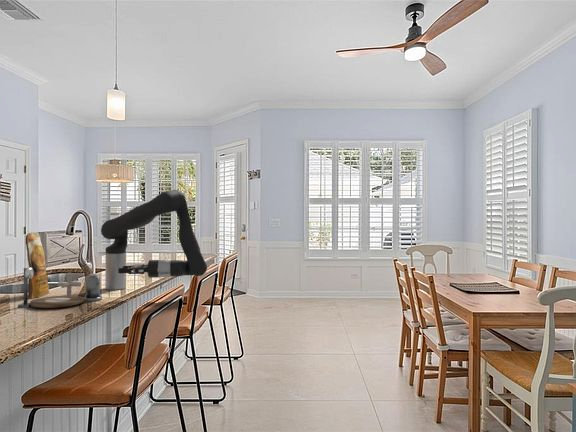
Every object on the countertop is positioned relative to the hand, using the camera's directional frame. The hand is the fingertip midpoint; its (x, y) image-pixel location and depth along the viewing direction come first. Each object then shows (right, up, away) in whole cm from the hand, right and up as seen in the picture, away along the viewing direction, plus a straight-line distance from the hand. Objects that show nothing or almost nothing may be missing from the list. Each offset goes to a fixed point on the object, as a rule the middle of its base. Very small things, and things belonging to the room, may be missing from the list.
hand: (120, 269), depth 191 cm
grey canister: (-11, -13, -2) cm, 17 cm away
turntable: (-21, -13, -12) cm, 27 cm away
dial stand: (-31, -13, -16) cm, 37 cm away
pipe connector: (-26, -13, +8) cm, 30 cm away
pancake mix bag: (-40, -13, +8) cm, 43 cm away
